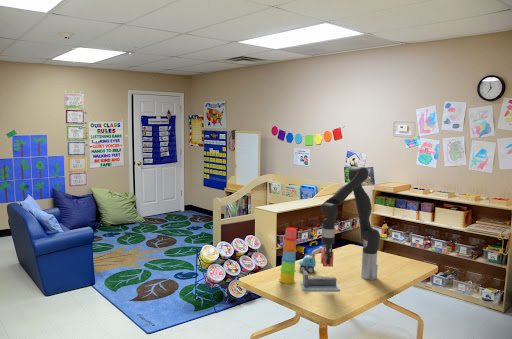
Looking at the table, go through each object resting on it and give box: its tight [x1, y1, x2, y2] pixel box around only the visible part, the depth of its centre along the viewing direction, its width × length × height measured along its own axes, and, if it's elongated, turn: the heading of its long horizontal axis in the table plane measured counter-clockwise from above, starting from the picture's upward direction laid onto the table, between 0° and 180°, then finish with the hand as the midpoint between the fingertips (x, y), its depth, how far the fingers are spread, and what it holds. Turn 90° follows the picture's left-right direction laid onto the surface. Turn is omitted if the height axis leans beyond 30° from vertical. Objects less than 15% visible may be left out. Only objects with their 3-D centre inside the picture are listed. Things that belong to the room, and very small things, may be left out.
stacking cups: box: [278, 226, 298, 285], centre depth 251 cm, size 10×10×35 cm
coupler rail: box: [302, 270, 337, 288], centre depth 245 cm, size 20×7×8 cm, turn 93°
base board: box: [299, 281, 341, 292], centre depth 245 cm, size 22×12×1 cm, turn 93°
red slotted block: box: [320, 249, 334, 268], centre depth 243 cm, size 6×6×9 cm
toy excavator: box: [298, 246, 323, 274], centre depth 272 cm, size 9×17×17 cm, turn 78°
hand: (327, 262), depth 244 cm, fingers closed on red slotted block, 6 cm apart
